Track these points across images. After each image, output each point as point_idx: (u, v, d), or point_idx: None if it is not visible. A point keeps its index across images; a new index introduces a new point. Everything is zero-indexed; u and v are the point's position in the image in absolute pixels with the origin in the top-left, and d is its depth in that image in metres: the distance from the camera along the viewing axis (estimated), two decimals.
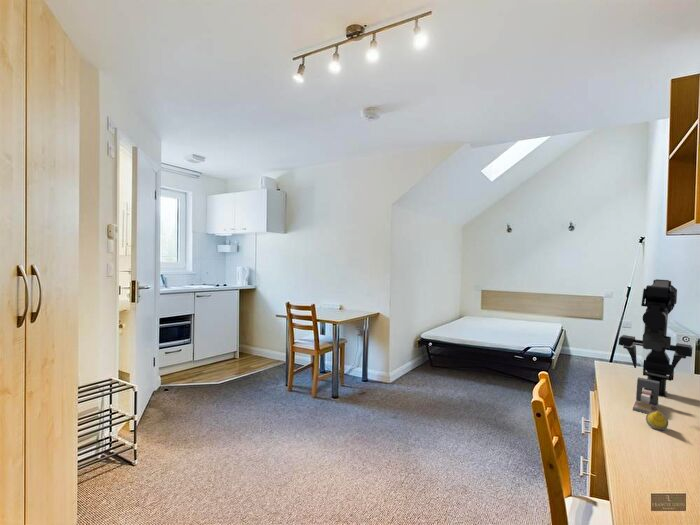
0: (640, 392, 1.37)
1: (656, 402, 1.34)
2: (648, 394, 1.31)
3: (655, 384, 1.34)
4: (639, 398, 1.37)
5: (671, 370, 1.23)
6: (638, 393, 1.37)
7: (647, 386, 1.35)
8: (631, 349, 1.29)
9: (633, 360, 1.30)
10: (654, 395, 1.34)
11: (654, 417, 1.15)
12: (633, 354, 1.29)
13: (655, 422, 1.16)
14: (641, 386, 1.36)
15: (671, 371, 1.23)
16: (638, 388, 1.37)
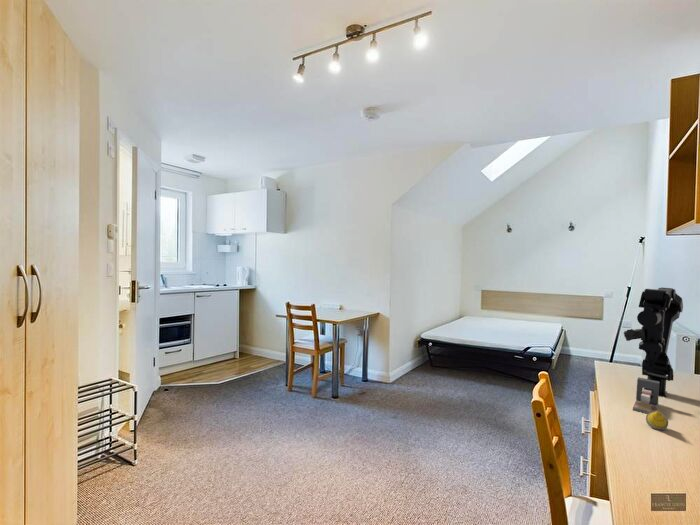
0: (640, 392, 1.37)
1: (656, 402, 1.34)
2: (648, 394, 1.31)
3: (655, 384, 1.34)
4: (639, 398, 1.37)
5: (647, 361, 1.40)
6: (638, 393, 1.37)
7: (647, 386, 1.35)
8: None
9: None
10: (654, 395, 1.34)
11: (654, 417, 1.15)
12: None
13: (655, 422, 1.16)
14: (641, 386, 1.36)
15: (648, 362, 1.40)
16: (638, 388, 1.37)
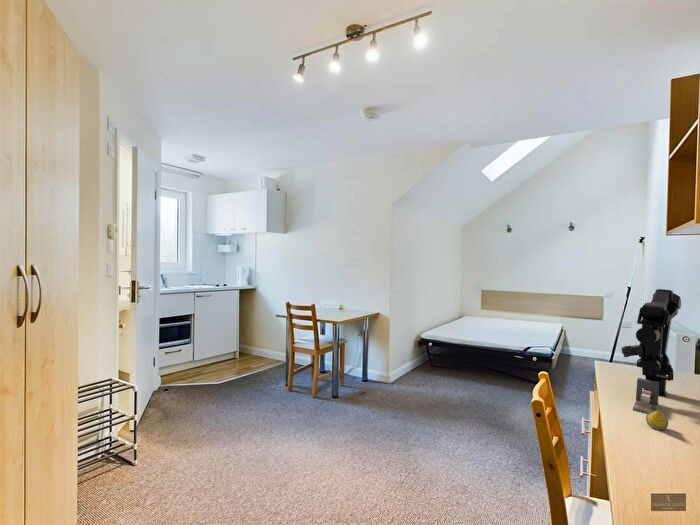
0: (640, 392, 1.36)
1: (656, 403, 1.33)
2: (648, 394, 1.31)
3: (655, 384, 1.33)
4: (639, 399, 1.36)
5: None
6: (638, 393, 1.36)
7: (647, 386, 1.35)
8: None
9: None
10: (654, 396, 1.33)
11: (654, 417, 1.15)
12: None
13: (655, 422, 1.16)
14: (641, 386, 1.36)
15: None
16: (638, 388, 1.36)
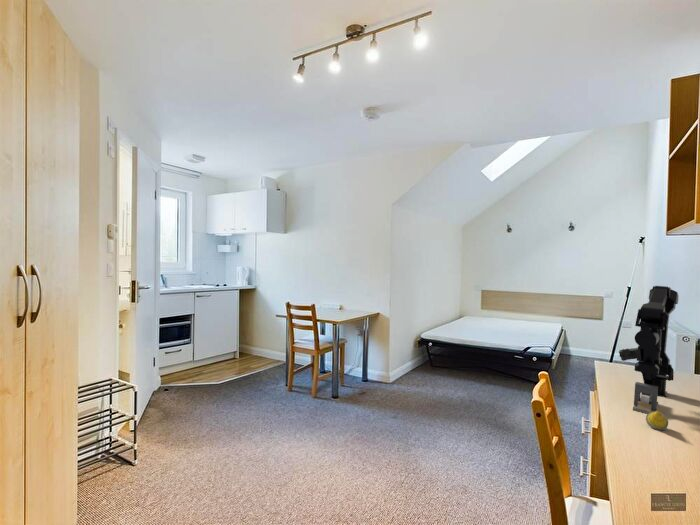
0: (638, 397, 1.31)
1: (654, 408, 1.28)
2: (648, 394, 1.31)
3: (653, 389, 1.29)
4: (637, 403, 1.32)
5: (644, 383, 1.33)
6: (636, 398, 1.32)
7: (645, 391, 1.30)
8: None
9: None
10: (652, 400, 1.29)
11: (654, 417, 1.15)
12: None
13: (655, 422, 1.16)
14: (639, 391, 1.31)
15: None
16: (636, 393, 1.32)
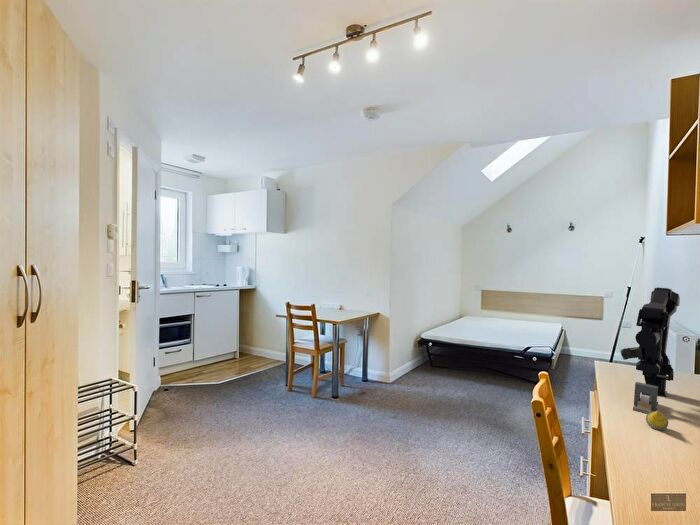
0: (638, 397, 1.31)
1: (654, 408, 1.28)
2: (648, 394, 1.31)
3: (653, 389, 1.29)
4: (637, 403, 1.32)
5: (645, 381, 1.36)
6: (636, 398, 1.32)
7: (645, 391, 1.30)
8: None
9: None
10: (652, 400, 1.29)
11: (654, 417, 1.15)
12: None
13: (655, 422, 1.16)
14: (639, 391, 1.31)
15: (645, 382, 1.36)
16: (636, 393, 1.32)
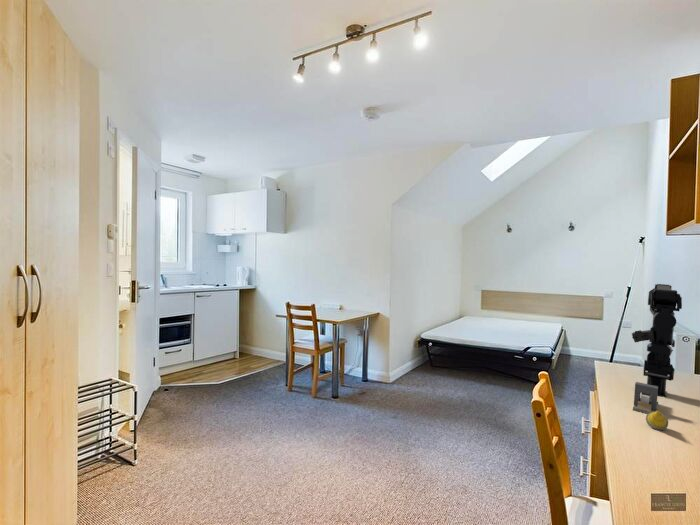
0: (638, 397, 1.31)
1: (654, 408, 1.28)
2: (648, 394, 1.31)
3: (653, 389, 1.29)
4: (637, 403, 1.32)
5: (656, 364, 1.36)
6: (636, 398, 1.32)
7: (645, 391, 1.30)
8: None
9: None
10: (652, 400, 1.29)
11: (654, 417, 1.15)
12: None
13: (655, 422, 1.16)
14: (639, 391, 1.31)
15: (657, 365, 1.36)
16: (636, 393, 1.32)
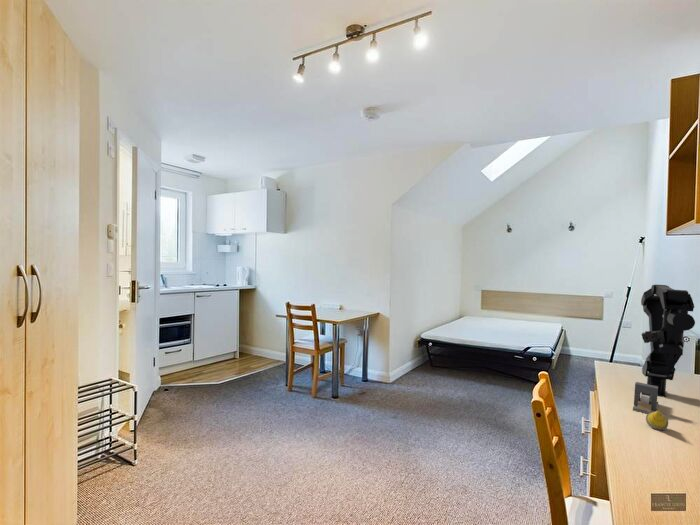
0: (638, 397, 1.31)
1: (654, 408, 1.28)
2: (648, 394, 1.31)
3: (653, 389, 1.29)
4: (637, 403, 1.32)
5: (667, 364, 1.35)
6: (636, 398, 1.32)
7: (645, 391, 1.30)
8: None
9: None
10: (652, 400, 1.29)
11: (654, 417, 1.15)
12: None
13: (655, 422, 1.16)
14: (639, 391, 1.31)
15: (667, 365, 1.35)
16: (636, 393, 1.32)
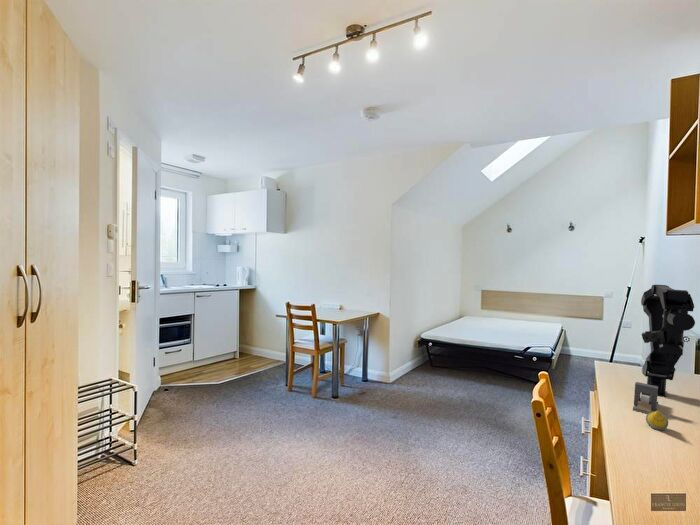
0: (638, 397, 1.31)
1: (654, 408, 1.28)
2: (648, 394, 1.31)
3: (653, 389, 1.29)
4: (637, 403, 1.32)
5: (667, 364, 1.35)
6: (636, 398, 1.32)
7: (645, 391, 1.30)
8: None
9: None
10: (652, 400, 1.29)
11: (654, 417, 1.15)
12: None
13: (655, 422, 1.16)
14: (639, 391, 1.31)
15: (667, 365, 1.35)
16: (636, 393, 1.32)
